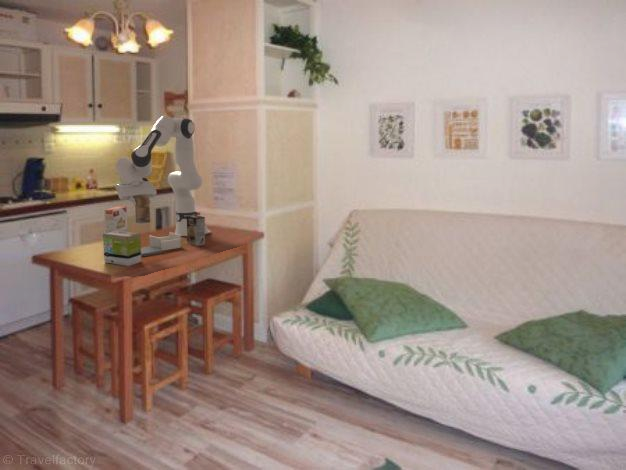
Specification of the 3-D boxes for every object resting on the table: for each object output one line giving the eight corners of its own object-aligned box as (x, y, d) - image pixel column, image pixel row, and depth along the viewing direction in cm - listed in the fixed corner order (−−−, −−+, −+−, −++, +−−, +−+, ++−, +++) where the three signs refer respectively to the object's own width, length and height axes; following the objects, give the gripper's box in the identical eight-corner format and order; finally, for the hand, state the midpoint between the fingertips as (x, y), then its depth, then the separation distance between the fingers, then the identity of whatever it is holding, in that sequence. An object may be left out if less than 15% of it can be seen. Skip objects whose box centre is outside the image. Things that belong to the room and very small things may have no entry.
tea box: (103, 263, 270) (101, 233, 268) (117, 258, 280) (116, 230, 277) (128, 266, 265) (127, 236, 262) (142, 261, 274) (140, 232, 271)
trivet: (149, 248, 303) (149, 246, 303) (163, 253, 293) (163, 250, 293) (125, 252, 293) (125, 249, 293) (138, 257, 283) (138, 254, 283)
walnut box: (146, 221, 293) (145, 195, 291) (150, 222, 291) (149, 195, 288) (135, 222, 289) (134, 195, 287) (139, 223, 287) (138, 196, 284)
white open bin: (170, 244, 315) (170, 232, 314) (181, 247, 307) (181, 235, 306) (149, 247, 306) (149, 235, 304) (160, 251, 298) (159, 238, 297)
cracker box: (115, 247, 306) (113, 209, 302) (105, 246, 307) (103, 209, 303) (128, 242, 319) (126, 206, 316) (119, 241, 321) (117, 206, 317)
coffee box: (187, 243, 318) (186, 215, 315) (196, 242, 322) (195, 214, 319) (196, 246, 312) (195, 217, 308) (205, 244, 316) (205, 216, 313)
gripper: (115, 180, 283) (125, 201, 278) (151, 178, 298) (162, 198, 293) (112, 188, 287) (122, 209, 282) (148, 186, 302) (158, 205, 297)
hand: (142, 203), depth 288 cm, fingers closed on walnut box, 6 cm apart
